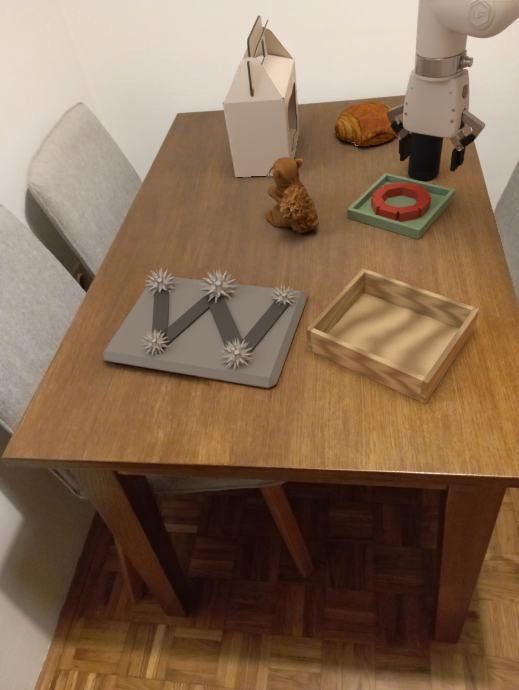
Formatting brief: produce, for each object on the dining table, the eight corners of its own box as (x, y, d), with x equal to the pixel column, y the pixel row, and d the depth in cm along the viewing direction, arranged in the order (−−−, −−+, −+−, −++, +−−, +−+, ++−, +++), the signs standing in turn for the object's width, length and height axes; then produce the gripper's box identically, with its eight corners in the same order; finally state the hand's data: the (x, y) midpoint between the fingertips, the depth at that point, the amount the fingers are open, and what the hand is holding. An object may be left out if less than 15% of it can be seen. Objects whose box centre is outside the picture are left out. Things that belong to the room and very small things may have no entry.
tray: (454, 198, 106) (455, 189, 105) (418, 239, 99) (419, 230, 97) (385, 181, 114) (385, 172, 113) (347, 218, 106) (346, 209, 105)
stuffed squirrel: (305, 199, 113) (300, 141, 103) (333, 233, 103) (331, 172, 94) (261, 213, 112) (253, 155, 102) (286, 248, 102) (280, 188, 92)
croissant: (331, 136, 136) (326, 106, 130) (389, 116, 134) (386, 84, 129) (347, 161, 125) (342, 129, 120) (410, 139, 124) (408, 106, 119)
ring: (438, 198, 106) (439, 190, 105) (412, 227, 101) (413, 218, 99) (388, 186, 111) (389, 177, 110) (362, 212, 106) (362, 203, 105)
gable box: (291, 176, 120) (279, 42, 100) (235, 178, 123) (212, 48, 103) (300, 131, 135) (291, 7, 115) (249, 134, 138) (232, 13, 117)
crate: (473, 333, 81) (479, 308, 77) (424, 407, 73) (428, 383, 69) (362, 291, 91) (362, 267, 87) (308, 352, 83) (305, 329, 79)
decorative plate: (101, 365, 87) (86, 335, 82) (156, 281, 100) (145, 251, 95) (275, 394, 78) (270, 363, 73) (309, 298, 91) (307, 266, 86)
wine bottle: (406, 180, 113) (419, 24, 91) (409, 165, 117) (422, 12, 95) (437, 182, 111) (458, 23, 90) (439, 166, 115) (460, 11, 94)
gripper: (503, 59, 81) (485, 162, 93) (400, 50, 90) (396, 145, 102) (483, 77, 78) (467, 182, 90) (378, 66, 86) (377, 163, 99)
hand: (429, 162), depth 96 cm, fingers open, 9 cm apart
